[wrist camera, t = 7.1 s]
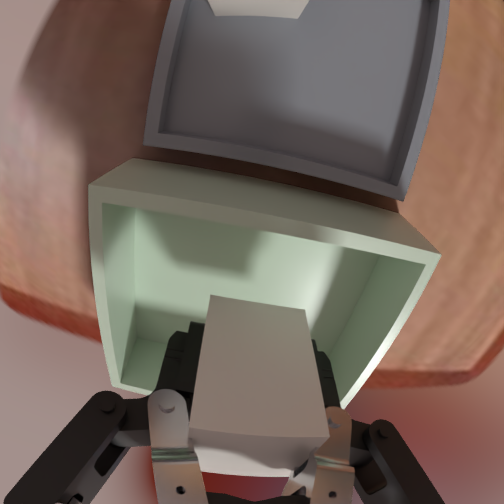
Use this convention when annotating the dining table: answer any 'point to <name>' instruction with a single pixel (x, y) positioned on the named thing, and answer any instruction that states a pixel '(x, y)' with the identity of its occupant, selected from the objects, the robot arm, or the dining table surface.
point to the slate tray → (303, 87)
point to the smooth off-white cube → (258, 8)
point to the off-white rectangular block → (256, 391)
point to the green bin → (246, 264)
